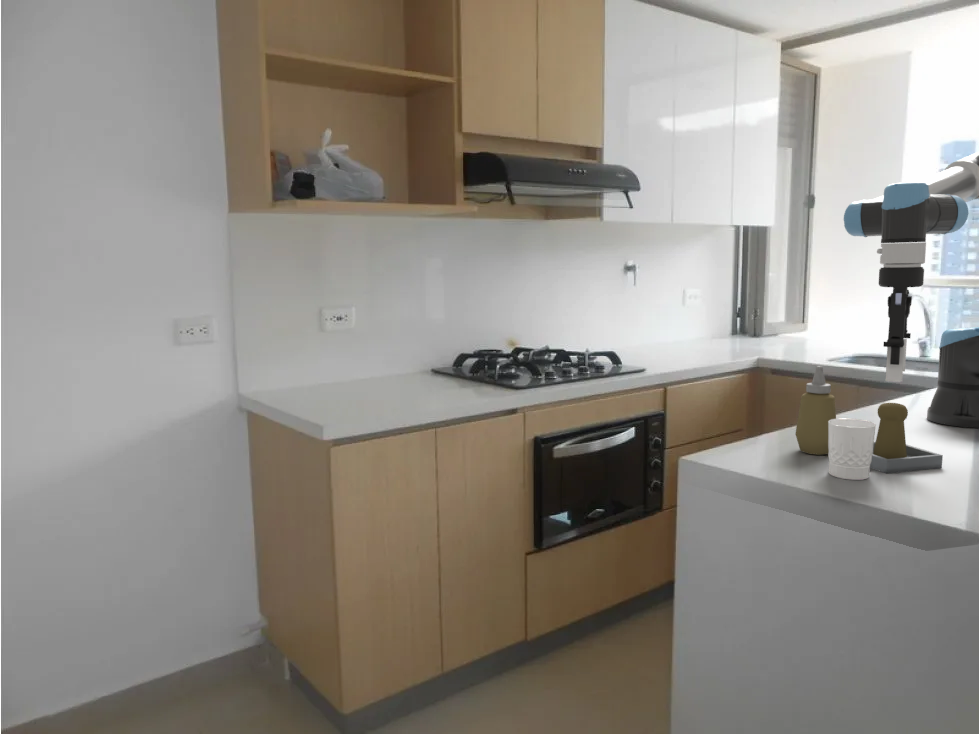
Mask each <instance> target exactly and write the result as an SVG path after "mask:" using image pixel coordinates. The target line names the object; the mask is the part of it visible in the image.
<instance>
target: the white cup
mask: <svg viewBox="0 0 979 734" xmlns="http://www.w3.org/2000/svg"><path fill="white" fill-rule="evenodd" d="M876 426H877V424H876V423H875V422H873V421H869V420H864V419H857V418H847V417H846V418H845V417H844V418H836V419H831V420H829V421H828V449H829V453H828V454H827V455H828V460H829V461H828V473H829V474H830V476H833V477H834V478H838V479H843V480H850V481H859V480H860V481H861V480H866V479H868V478H869V477H870V472H871V468H870V464H871V460H872V453H873V444H874V442H875V434H876Z"/></svg>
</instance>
